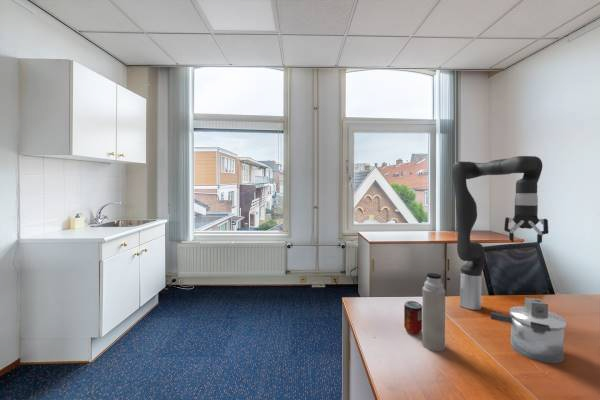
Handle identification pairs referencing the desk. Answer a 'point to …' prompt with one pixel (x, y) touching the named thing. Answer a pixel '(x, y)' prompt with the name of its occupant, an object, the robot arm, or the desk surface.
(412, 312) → the soda can
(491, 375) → the desk surface
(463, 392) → the desk surface
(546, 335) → the pressure cooker pot
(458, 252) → the robot arm
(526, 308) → the dice cube
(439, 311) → the thermos bottle
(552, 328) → the pressure cooker lid
